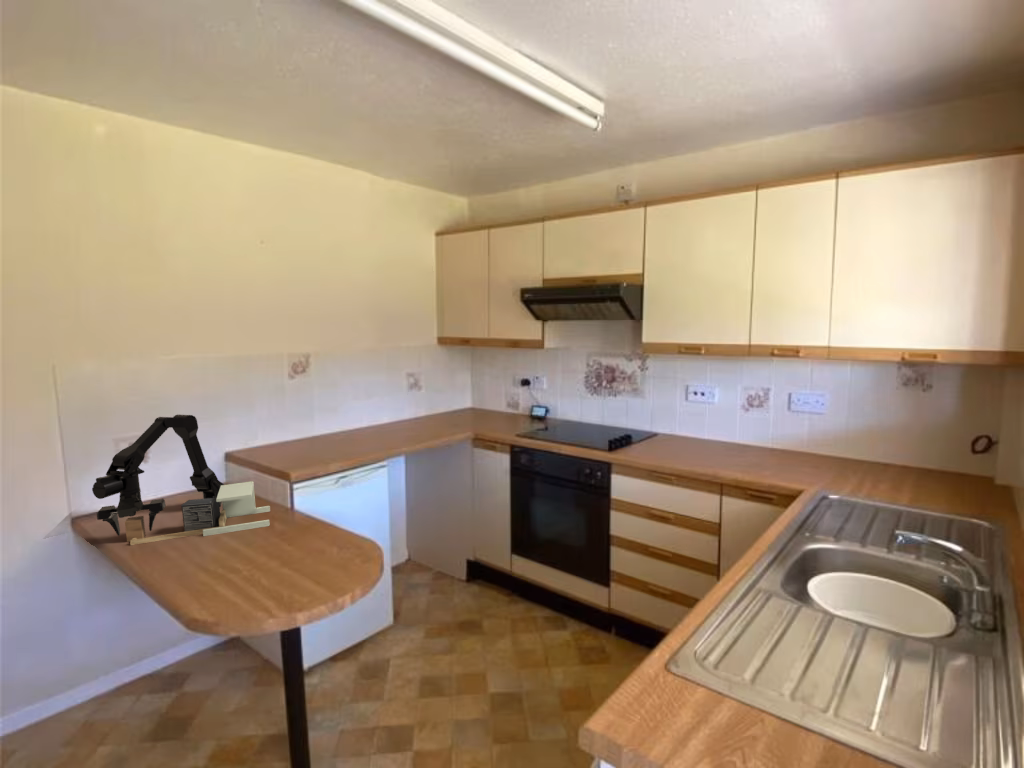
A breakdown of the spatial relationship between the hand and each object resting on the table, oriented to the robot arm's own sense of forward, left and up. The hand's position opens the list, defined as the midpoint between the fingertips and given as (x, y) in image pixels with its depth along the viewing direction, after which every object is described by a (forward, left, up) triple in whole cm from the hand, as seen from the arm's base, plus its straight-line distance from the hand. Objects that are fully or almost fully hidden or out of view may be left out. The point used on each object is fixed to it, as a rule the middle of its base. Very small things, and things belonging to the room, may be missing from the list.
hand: (135, 532), depth 188 cm
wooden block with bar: (0, +13, -2) cm, 13 cm away
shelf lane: (0, +32, -2) cm, 32 cm away
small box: (+1, +21, -2) cm, 21 cm away
